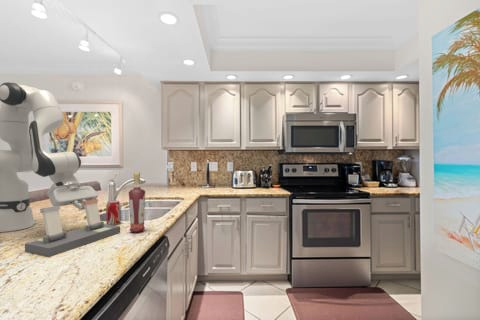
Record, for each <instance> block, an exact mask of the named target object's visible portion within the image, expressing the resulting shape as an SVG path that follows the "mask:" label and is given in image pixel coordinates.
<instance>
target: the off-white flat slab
mask: <svg viewBox="0 0 480 320" xmlns="http://www.w3.org/2000/svg"><path fill="white" fill-rule="evenodd" d="M82 203H83V205H84V206H85V209H84V211H85V216H86V221H87V225H90V230H91V229H95V228H98V227H101V226H102V223H101V222H102V221H101V217H100V212H99V207H98V203H99V200H98V198H96V199H94V200H88V201H84V202H82Z"/></svg>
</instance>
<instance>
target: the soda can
mask: <svg viewBox="0 0 480 320" xmlns="http://www.w3.org/2000/svg"><path fill="white" fill-rule="evenodd" d="M105 205H106V206H105V219H106V220H105V221H106V225H114V226H118V225H119V224H120V223H121V221H122V206H121V205H122V204H121V202H120V200H109V201H107V203H106V204H105Z"/></svg>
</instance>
